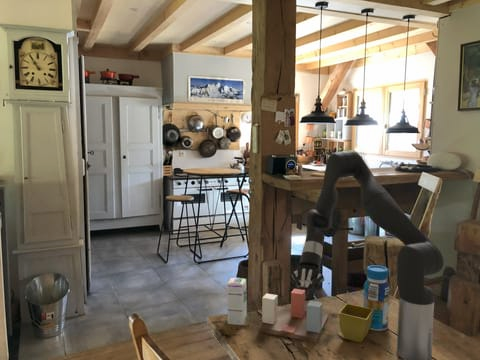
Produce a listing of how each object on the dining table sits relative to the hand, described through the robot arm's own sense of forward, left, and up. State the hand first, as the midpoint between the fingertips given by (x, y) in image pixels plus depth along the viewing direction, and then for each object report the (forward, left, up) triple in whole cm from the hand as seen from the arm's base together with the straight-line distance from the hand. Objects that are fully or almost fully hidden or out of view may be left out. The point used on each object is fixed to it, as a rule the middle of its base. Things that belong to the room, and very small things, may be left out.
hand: (302, 298), depth 149 cm
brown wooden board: (0, +10, -5) cm, 12 cm away
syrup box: (+19, +15, -6) cm, 25 cm away
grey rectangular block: (-8, +14, -4) cm, 17 cm away
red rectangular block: (0, +6, -4) cm, 7 cm away
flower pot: (-20, +11, -6) cm, 24 cm away
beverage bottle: (-25, 0, -6) cm, 26 cm away
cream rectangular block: (+7, +14, -4) cm, 17 cm away
